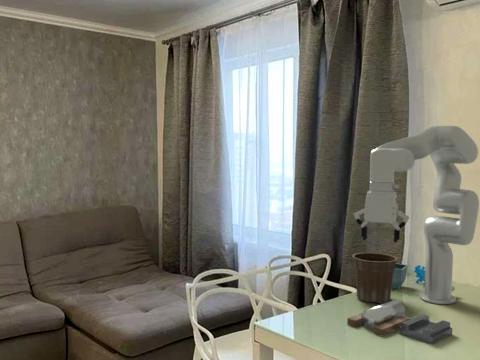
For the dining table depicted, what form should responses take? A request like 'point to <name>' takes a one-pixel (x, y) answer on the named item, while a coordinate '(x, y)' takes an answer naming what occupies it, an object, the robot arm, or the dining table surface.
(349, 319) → the wooden blocks
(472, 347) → the dining table surface
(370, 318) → the axle
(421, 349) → the dining table surface
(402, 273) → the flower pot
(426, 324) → the v block
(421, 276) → the blue spiky ball
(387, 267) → the plant pot
